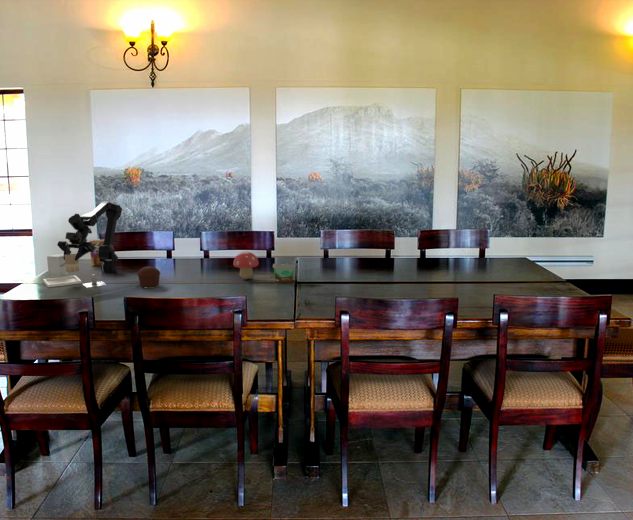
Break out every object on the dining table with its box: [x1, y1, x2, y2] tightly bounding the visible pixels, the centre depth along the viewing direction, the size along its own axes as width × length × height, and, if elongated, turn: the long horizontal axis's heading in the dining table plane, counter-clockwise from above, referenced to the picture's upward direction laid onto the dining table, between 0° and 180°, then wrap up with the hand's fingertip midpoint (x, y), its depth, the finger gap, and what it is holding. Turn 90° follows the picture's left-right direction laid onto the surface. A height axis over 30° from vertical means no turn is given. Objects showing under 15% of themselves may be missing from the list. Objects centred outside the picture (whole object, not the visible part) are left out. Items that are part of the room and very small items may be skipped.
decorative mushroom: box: [233, 251, 260, 280], centre depth 307 cm, size 13×13×15 cm
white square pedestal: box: [82, 273, 107, 288], centre depth 296 cm, size 10×10×6 cm
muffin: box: [136, 266, 161, 288], centre depth 293 cm, size 12×11×10 cm
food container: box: [272, 261, 296, 284], centre depth 300 cm, size 12×6×10 cm, turn 117°
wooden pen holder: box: [65, 253, 80, 273], centre depth 295 cm, size 6×6×8 cm
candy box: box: [88, 239, 104, 267], centre depth 348 cm, size 9×4×15 cm, turn 105°
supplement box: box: [46, 253, 69, 278], centre depth 313 cm, size 7×7×13 cm
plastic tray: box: [42, 274, 83, 288], centre depth 300 cm, size 16×16×2 cm
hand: (69, 259), depth 294 cm, fingers closed on wooden pen holder, 6 cm apart
